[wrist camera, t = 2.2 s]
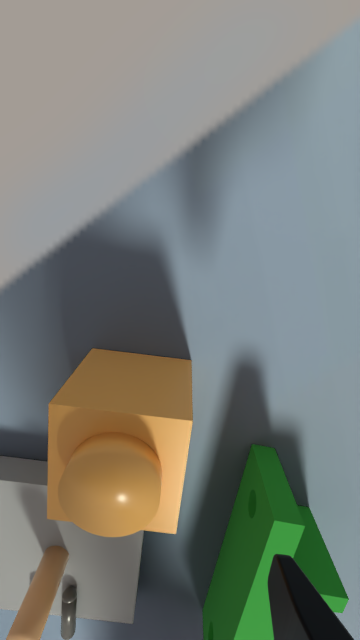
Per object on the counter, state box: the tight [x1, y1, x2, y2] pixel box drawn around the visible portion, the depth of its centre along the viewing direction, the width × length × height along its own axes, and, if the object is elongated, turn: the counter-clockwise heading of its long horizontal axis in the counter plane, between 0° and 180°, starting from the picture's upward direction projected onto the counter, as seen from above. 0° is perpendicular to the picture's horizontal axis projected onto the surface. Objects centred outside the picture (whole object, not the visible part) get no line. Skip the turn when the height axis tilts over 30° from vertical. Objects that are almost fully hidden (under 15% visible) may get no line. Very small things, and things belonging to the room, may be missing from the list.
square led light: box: [47, 348, 193, 537], centre depth 13 cm, size 4×4×6 cm
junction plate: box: [0, 456, 144, 640], centre depth 15 cm, size 9×8×5 cm
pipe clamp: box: [203, 444, 349, 640], centre depth 15 cm, size 11×4×5 cm, turn 169°
